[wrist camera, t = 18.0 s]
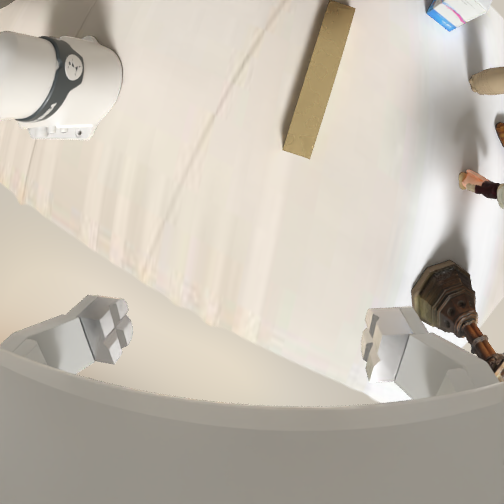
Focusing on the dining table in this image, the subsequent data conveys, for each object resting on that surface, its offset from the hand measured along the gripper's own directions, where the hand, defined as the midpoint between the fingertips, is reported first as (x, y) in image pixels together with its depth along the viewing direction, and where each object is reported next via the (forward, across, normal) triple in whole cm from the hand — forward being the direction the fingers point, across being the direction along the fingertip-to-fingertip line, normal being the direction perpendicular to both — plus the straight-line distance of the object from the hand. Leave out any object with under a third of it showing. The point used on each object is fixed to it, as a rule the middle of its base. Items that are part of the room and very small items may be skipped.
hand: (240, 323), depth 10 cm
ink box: (+34, -28, -31) cm, 54 cm away
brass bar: (+31, -6, -15) cm, 35 cm away
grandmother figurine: (+34, -30, -2) cm, 46 cm away
